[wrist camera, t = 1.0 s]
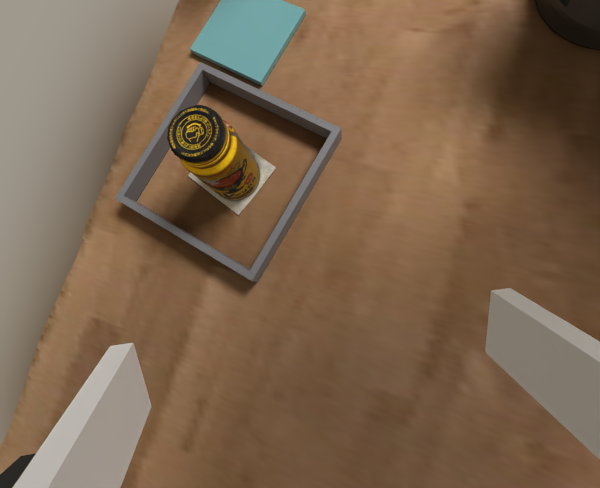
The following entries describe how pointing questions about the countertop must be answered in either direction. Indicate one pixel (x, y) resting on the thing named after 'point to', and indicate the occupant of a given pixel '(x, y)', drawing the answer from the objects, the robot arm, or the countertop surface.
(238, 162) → the condiment
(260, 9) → the coaster
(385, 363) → the countertop surface
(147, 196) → the countertop surface
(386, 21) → the countertop surface
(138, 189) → the frame
